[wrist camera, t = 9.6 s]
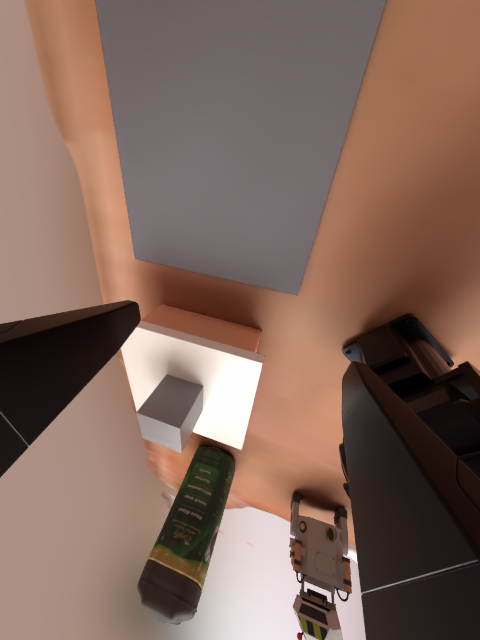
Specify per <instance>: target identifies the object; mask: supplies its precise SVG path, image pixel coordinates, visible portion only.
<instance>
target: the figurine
mask: <svg viewBox="0 0 480 640" xmlns="http://www.w3.org/2000/svg"><path fill="white" fill-rule="evenodd" d="M299 504H300V495H299V494H296V493H293V497H292V501H291V526H290V533H291V535H294V536H295V539H293V538H290V545H289V547H291V551H290V558H292V559H291V563H292V566H293V570H294V571H295V572H296V576H297V580H298V573H301V581H299V580H298V582H299V583H302V586H301V590H300V595H297V596H296V599H295V602H294V605H293V609H294V611H295V614H296V616H297V619H298V621H299V624H300V627H301V629H302V631H303V632H302V633H298V634H297V638H298V640H302V635H303V634H304V636H305V639H306V640H343V638H342V632H341V627H340V623H339V619H338V615H337V612H336V607H335V605H336V604H334V593H335V589H336V590H337V593H338V590H341V591H344V592H345V591H346V592H347V598H346V599H345V600H344V599H342V598H341V597H340V595H339V593H338V596H339V598H340V599H341V600H342V601H347V600H348V596H349V594H350V593H352V590H351V586H352V585H351V576H350V574H351V572H350V559H348V558H345V557H343V554H344V555H347V554H348V530H347V510H345V509H344V508H341V507H339V509H338V510H337V512H336V513H335V516H334V524H335V526H336V527H335V526H333V525H330V524H327V523H324V522H322V521H319V520H316V519H313V518H310V517H305V516H300V515H299V516H298V514H299ZM304 581H306V582H308V583H310V584H313V585H315V586H318V587H320V588H322V589H325V590H327V591H329V592H331V593H332V594H331V595H332V603H330V602H328V601H327V597H326V596H325V595H322V594H320V593H318V592H315V591H313V590H310V589H307V592H304Z"/></svg>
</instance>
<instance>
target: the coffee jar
mask: <svg viewBox="0 0 480 640" xmlns="http://www.w3.org/2000/svg"><path fill="white" fill-rule="evenodd" d="M234 472H235V465H234V460H233V458H232V457H231V456H229V455H227V454H226V453H224V452H223V451H222V450H220V449H218V448H215V447H204V446H201V447H199V448H198V449H197V450H196V452H195V455H194V457H193V459H192V461H191V464H190V466H189V468H188V471H187V473H186V475H185V478H184V480H183V482H182V485H181V487H180V489H179V491H178V494H177V496H176V498H175V500H174V503H173V505H172V507H171V510H170V512H169V514H168V516H167V519H166V521H165V523H164V525H163V528H162V530H161V532H160V534H159V536H158V539H157V541H156V543H155V545H154V547H153V549H152V551H151V553H150V556H149V557H148V561H147V562H146V565H145V567H144V570H143V572H142V575H141V577H140V580H139V583H138V586H137V588H138V592H139V594H140V596H141V602H142V605H143V606H144V607H145V608H146V609H147V610H148V611H149V612H150V613H151V614H152V615H153V616H154V617H155V618H156V619H157V620H159V621H161V622H164V623H170V624H176V625H178V624H180V623H181V622H183V621H187V620H190V619H192V618H193V617H194V615H195V612H197V610H196V609H197V605H198V602H199V599H200V596H201V591H202V589H203V585H204V581H205V578H206V574H207V570H208V566H209V563H210V559H211V555H212V552H213V548H214V544H215V541H216V537H217V534H218V530H219V526H220V523H221V519H222V516H223V512H224V508H225V505H226V501H227V498H228V494H229V491H230V487H231V484H232V480H233V476H234Z"/></svg>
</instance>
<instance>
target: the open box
mask: <svg viewBox="0 0 480 640" xmlns="http://www.w3.org/2000/svg"><path fill="white" fill-rule="evenodd" d="M141 321H144V322H148V323H151V324H155V325H158V326H162V327H165V328H169V329H173V330H176V331H180V332H183V333H187V334H190V335H194V336H197V337H201V338H205V339H208V340H212V341H215V342H219V343H222V344H226V345H229V346H233V347H237V348H240V349H244V350H247V351H251V352H254V353H257V350H258V345H259V341H260V336H261V332H262V330H259V329H255V328H251V327H247V326H244V325H240V324H236V323H232V322H228V321H225V320H221V319H217V318H213V317H209V316H206V315H202V314H198V313H194V312H190V311H186V310H183V309H179V308H175V307H171V306H167V305H164V304H162V305H160V306H159V307H158V308H156V309H155V310H154V311H152V312H151V313H150V314H148V315H147V316H146V317H144V318H143V319H142V320H141Z"/></svg>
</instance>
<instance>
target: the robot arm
mask: <svg viewBox="0 0 480 640" xmlns="http://www.w3.org/2000/svg"><path fill="white" fill-rule="evenodd" d="M408 319H412V320H411V321H409V322H406V321H407V320H408ZM140 320H141V317H140V311H139V305H138V303H136V302H133V301H130V300H126V301H121V302H115V303H110V304H105V305H99V306H94V307H89V308H84V309H78V310H73V311H68V312H62V313H57V314H52V315H46V316H41V317H36V318H30V319H25V320H20V321H14V322H9V323H3V324H0V477H1V476H2V475H3V474H4V473H5V472H6V471H7V470H8V469H9V468H10V467H11V466H12V465H13V463H14V462H15V461H16V460H17V459H18V458H19V457H20V456H21V455H22V454H23V453H24V452H25V451H26V449H27V448H28V446H30V445H31V444H32V442H34V441H35V440H36V439H37V437H38V436H39V435H40V434H41V433H42V432H43V431H44V430H45V429H46V428H47V427H48V426H49V425H50V423H51V422H52V421H53V420H54V419H55V418H56V417H57V416H58V415H59V414H60V412H62V411H63V410H64V408H65V407H66V406H67V405H68V404H69V403H70V402H71V401H72V400H73V399H74V398H75V397H76V396H77V395H78V393H79V392H80V391H81V390H82V389H83V388H84V387H85V386H86V385H87V384H88V383H89V382H90V381H91V380H92V378H93V377H94V376H95V375H96V374H97V373H98V372H99V371H100V370H101V369H102V368H103V367H104V366H105V365H106V363H107V362H108V361H109V360H110V359H111V358H112V357H113V356H114V355H115V354H116V353H117V352H118V350H119V349H120V348H121V347H122V346H123V344H124V343H125V342H126V340H127V339H128V338H129V336H130V335H131V334H132V332H133V331H134V330H135V329H136V327H137V326H138V325H139V323H140ZM346 350H350V351H346ZM342 351H343V354H344V355H345V356H346V357H347V358H348V359H349V360H350V361H351V363H350V365H349V367H348V369H347V370H346V372H345V374H344V376H343V379H342V427H343V443H341V444H340V445H339V453H340V458H341V465H342V469H343V473H344V476H345V478H346V481H347V483H344V484H343V487H344V489H345V491H346V493H347V495H348V496H349V498H350V500H351V507H352V516H353V525H354V534H355V543H356V552H357V561H358V569H359V578H360V586H361V593H362V596H361V598H362V607H363V615H364V625H365V633H366V640H480V371H479V370H478V369H477V368H476V367H474V366H473V365H472V364H471V363H469V362H468V361H467V362H464V363H462V364H460V365H458V368H456V369H454V370H451V367H452V366H453V365H454V362H453V361H452V360H451V359H450V357H449V356H448V355H447V354H446V353H445V351H444V350H443V349H442V348H441V347H440V345H439V344H438V343H437V342H436V341H435V339H434V338H433V337H432V336H431V335H430V333H429V332H428V331H427V330H426V329H425V327H424V326H423V325H422V324H421V323H420V321H419V320H418V319H417V318H416V317H415V316H414V315H413V314H406V315H404V316H402V317H400V318H398V319H396V320H394V321H392V322H390V323H388V324H387V325H383V326H381V327H379V328H377V329H375V330H374V331H372V332H370V333H368V334H366V335H364V336H362V337H360V338H358V339H357V340H356V341H354V342H352V343H350V344H348V345H346V346H344V347H343V348H342ZM446 362H447V363H446Z"/></svg>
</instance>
